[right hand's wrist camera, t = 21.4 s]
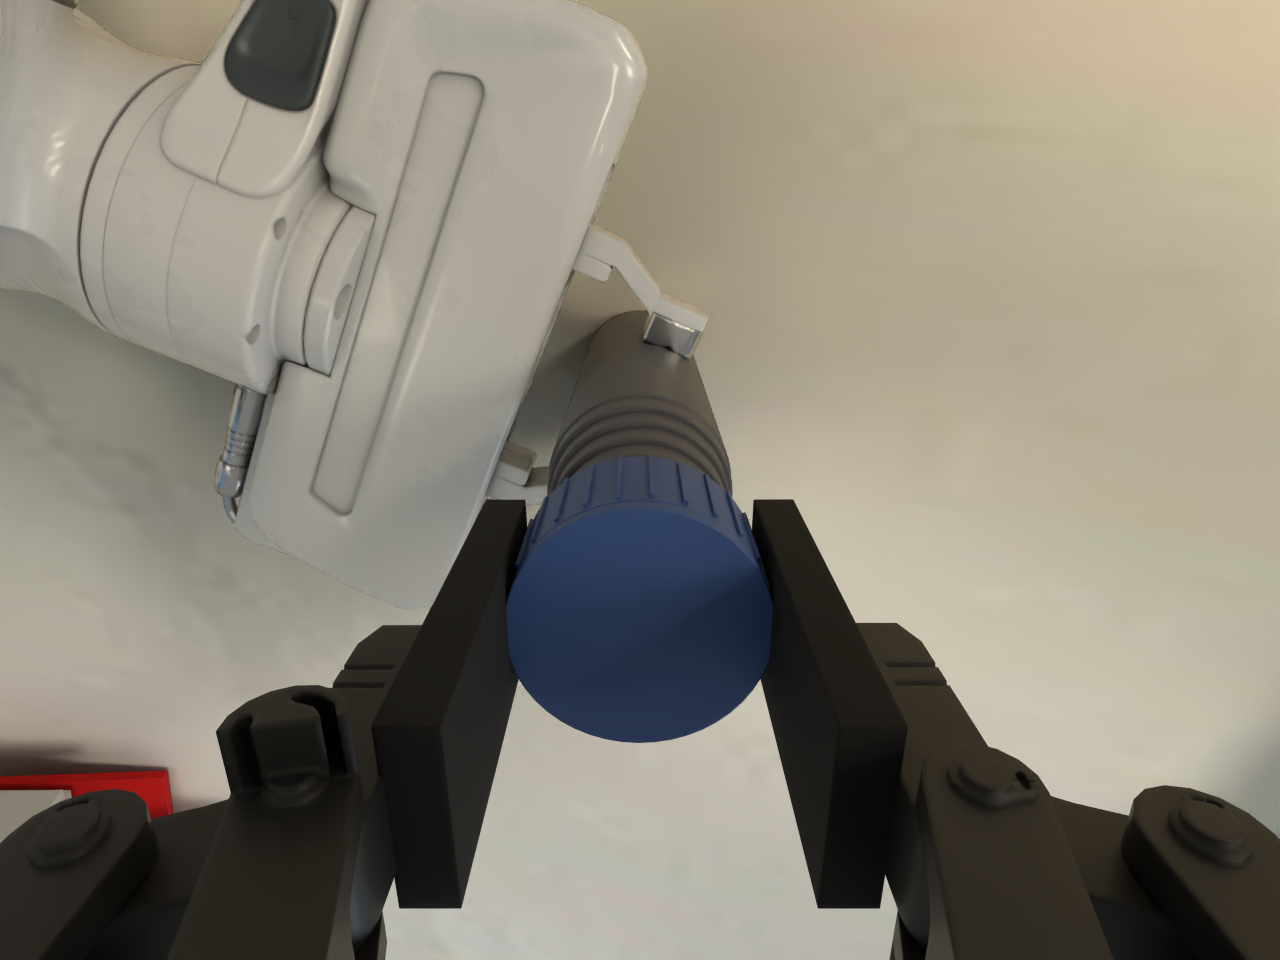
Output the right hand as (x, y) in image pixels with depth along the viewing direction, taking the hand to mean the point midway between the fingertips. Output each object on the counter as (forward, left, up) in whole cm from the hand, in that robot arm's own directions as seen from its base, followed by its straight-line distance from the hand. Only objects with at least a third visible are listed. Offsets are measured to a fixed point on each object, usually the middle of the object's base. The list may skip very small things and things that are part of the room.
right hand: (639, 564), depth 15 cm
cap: (0, 0, +2) cm, 2 cm away
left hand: (-1, +1, -12) cm, 12 cm away
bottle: (0, 0, -19) cm, 19 cm away
